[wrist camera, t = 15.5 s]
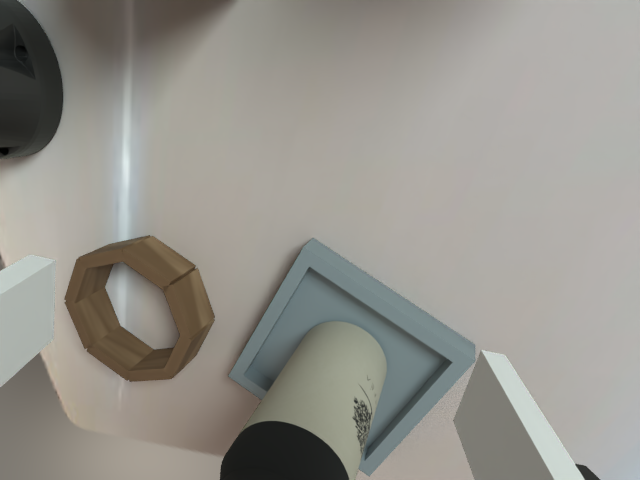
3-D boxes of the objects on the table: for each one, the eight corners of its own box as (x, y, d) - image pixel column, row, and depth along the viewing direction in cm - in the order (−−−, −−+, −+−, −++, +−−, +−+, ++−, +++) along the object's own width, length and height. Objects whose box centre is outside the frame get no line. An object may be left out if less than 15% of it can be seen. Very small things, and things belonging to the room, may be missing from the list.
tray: (240, 362, 45) (228, 376, 43) (313, 237, 38) (303, 246, 36) (374, 457, 43) (369, 476, 41) (475, 344, 37) (475, 360, 34)
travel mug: (298, 383, 42) (190, 566, 26) (305, 309, 40) (190, 463, 23) (380, 407, 40) (319, 622, 24) (394, 332, 38) (335, 517, 21)
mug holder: (85, 310, 49) (55, 328, 46) (119, 213, 44) (87, 224, 40) (183, 380, 48) (159, 404, 44) (230, 289, 42) (208, 308, 39)
